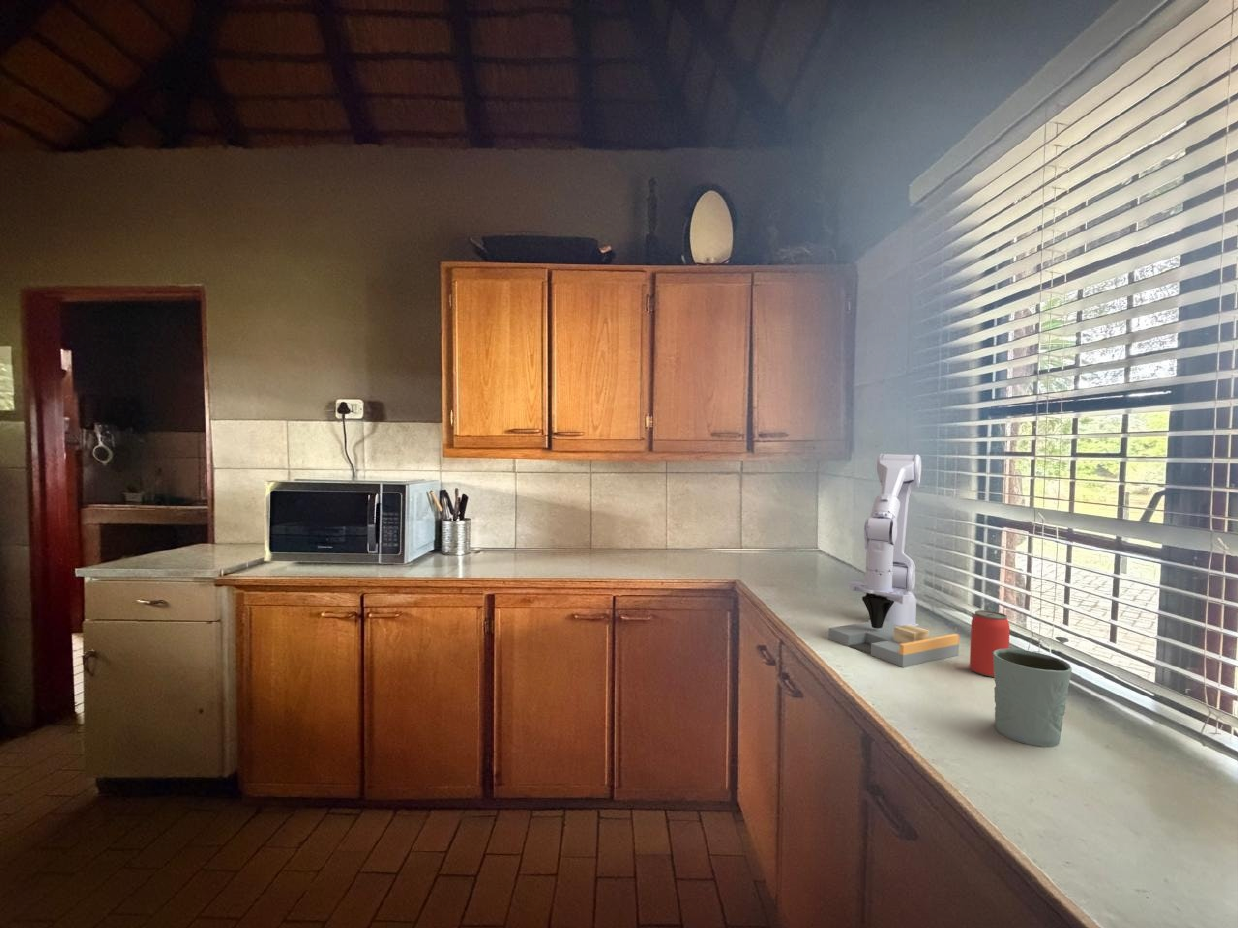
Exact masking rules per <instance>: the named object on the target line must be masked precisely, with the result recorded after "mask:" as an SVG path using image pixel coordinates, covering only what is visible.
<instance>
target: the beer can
mask: <svg viewBox="0 0 1238 928" xmlns="http://www.w3.org/2000/svg"><path fill="white" fill-rule="evenodd" d="M970 630H971V632H970V633H971V635H970V653H969V654H970V655H969V657H970V658H969V668H970V669H971V670H972V671H973V672H974V673H976V674H979V675H981V676H985V677H990V678H994V661H993V652H994V651H995V650H998V649H1010V630H1011V628H1010V624H1009V621H1008V616H1007V615H1006V614H1005V613H1002V612H998V611H993V610H987V609H978V610H975V611H974V615H973V616H972V619H971V628H970Z"/></svg>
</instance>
